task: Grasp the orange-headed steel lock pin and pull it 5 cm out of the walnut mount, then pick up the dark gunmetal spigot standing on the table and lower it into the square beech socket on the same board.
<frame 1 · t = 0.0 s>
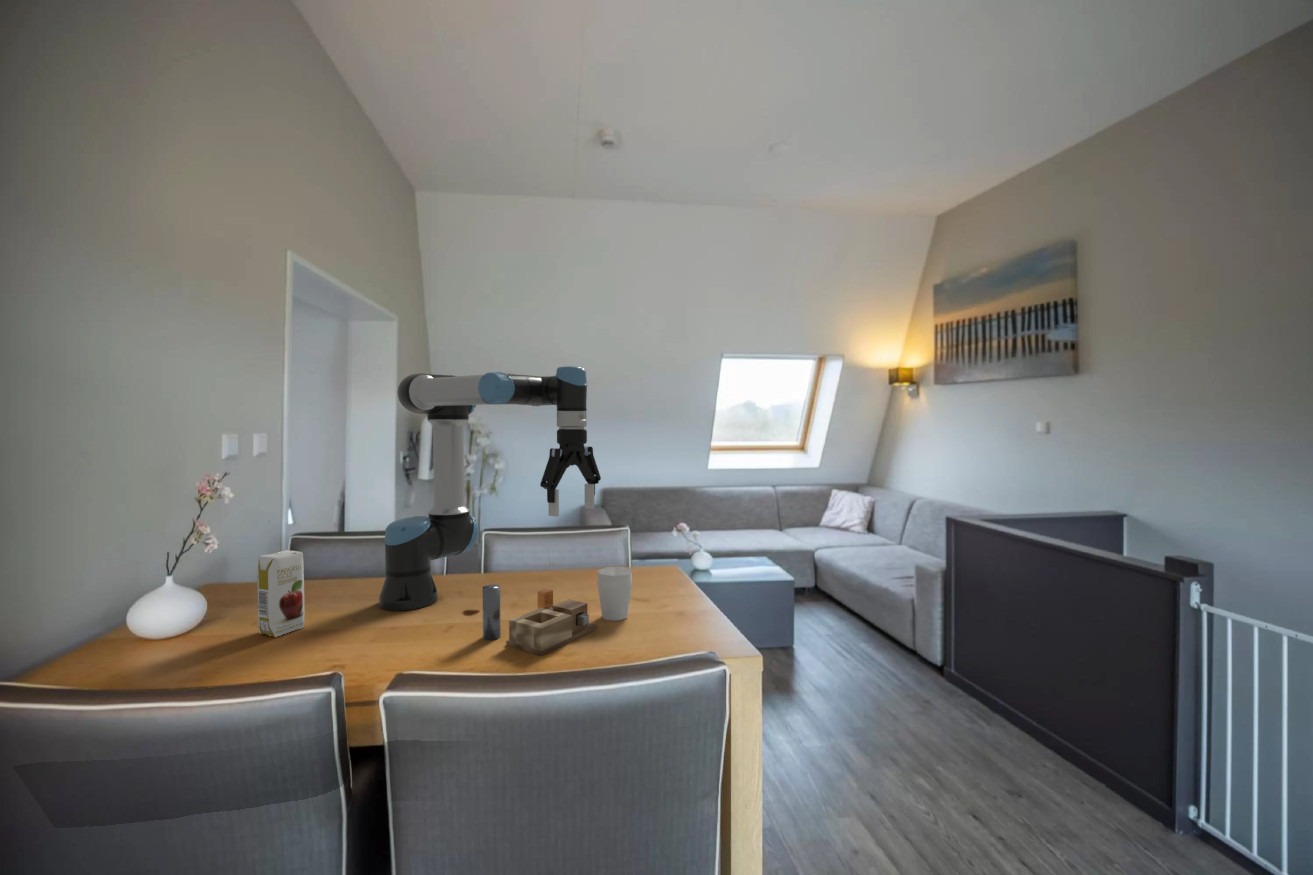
hand: (572, 512, 144), 28 cm above the table, fingers open, 13 cm apart
spigot: (491, 637, 134), on the table
juice carton: (282, 631, 138), on the table
pin: (563, 611, 139), point 4 cm above the table, slide at 0.0 cm
dock: (553, 636, 135), on the table
cup: (614, 617, 148), on the table
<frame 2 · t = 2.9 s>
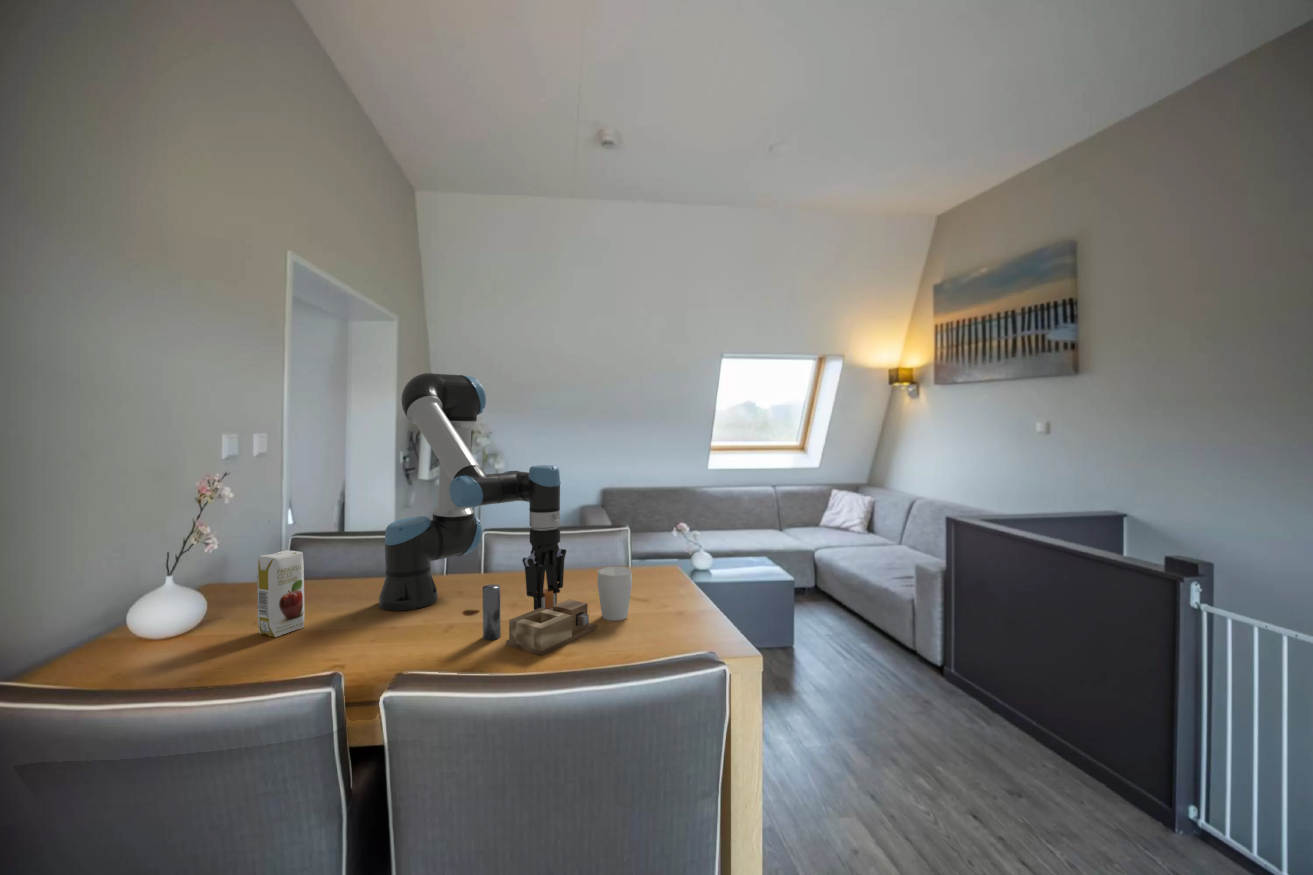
hand: (545, 620, 143), 1 cm above the table, fingers closed on pin, 3 cm apart
pin: (563, 611, 139), point 4 cm above the table, slide at 0.0 cm, touching gripper
everything else where it was.
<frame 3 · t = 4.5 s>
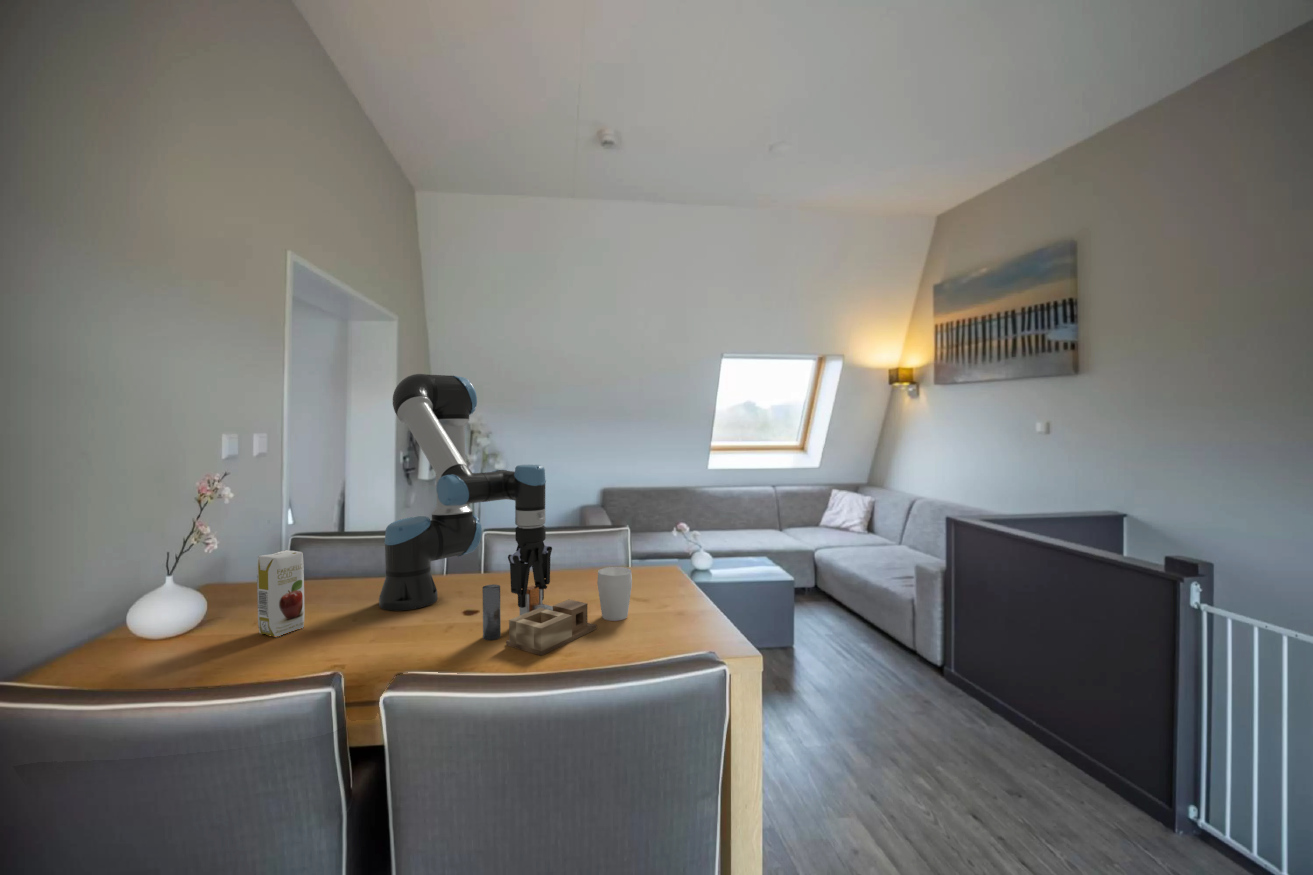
hand: (531, 616, 145), 1 cm above the table, fingers open, 4 cm apart
pin: (548, 607, 142), point 4 cm above the table, slide at 4.9 cm
everything else where it was.
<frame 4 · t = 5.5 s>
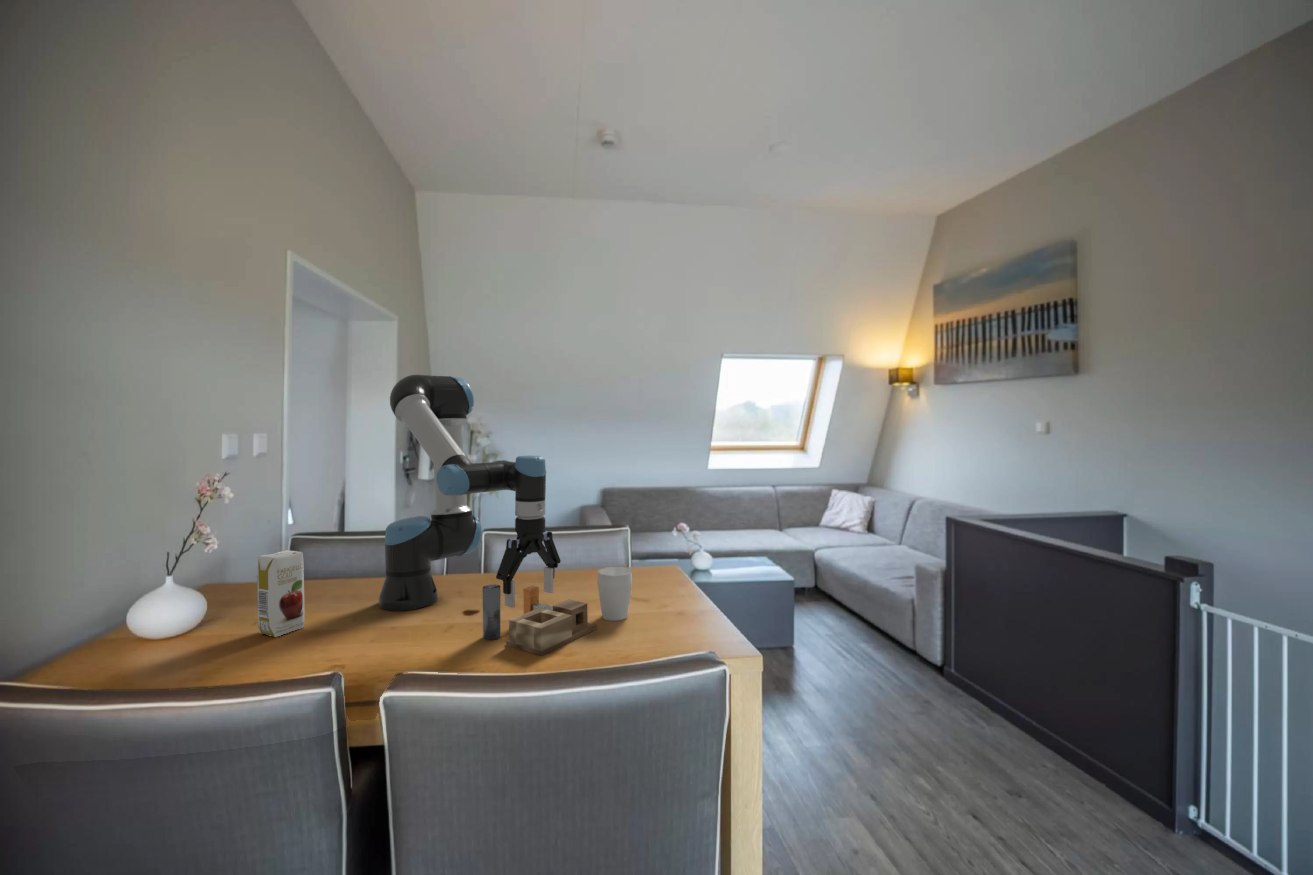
hand: (529, 598, 146), 5 cm above the table, fingers open, 13 cm apart
nothing on the table moved.
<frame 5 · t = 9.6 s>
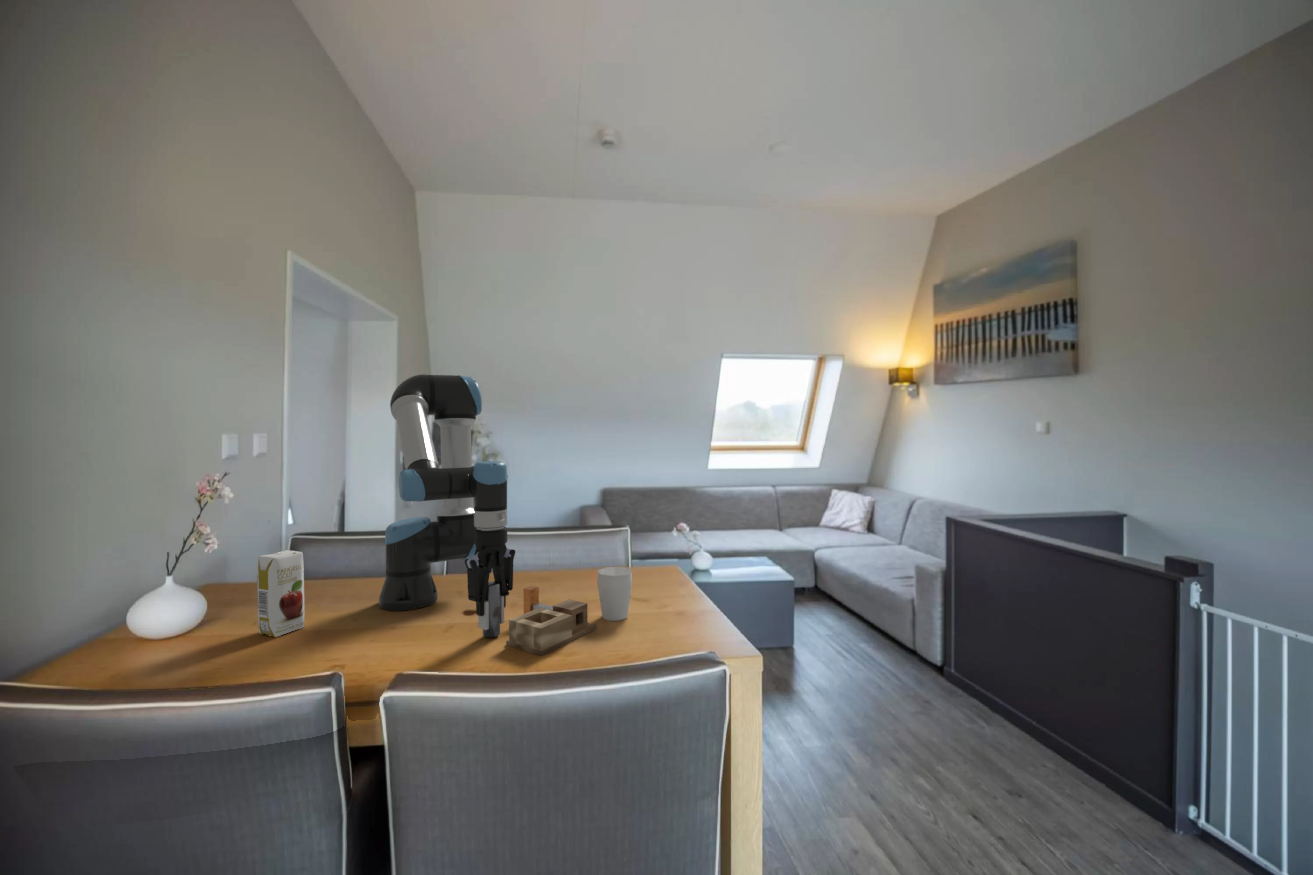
hand: (491, 624, 135), 3 cm above the table, fingers closed on spigot, 4 cm apart
spigot: (491, 633, 135), point 1 cm above the table, touching gripper
everything else where it was.
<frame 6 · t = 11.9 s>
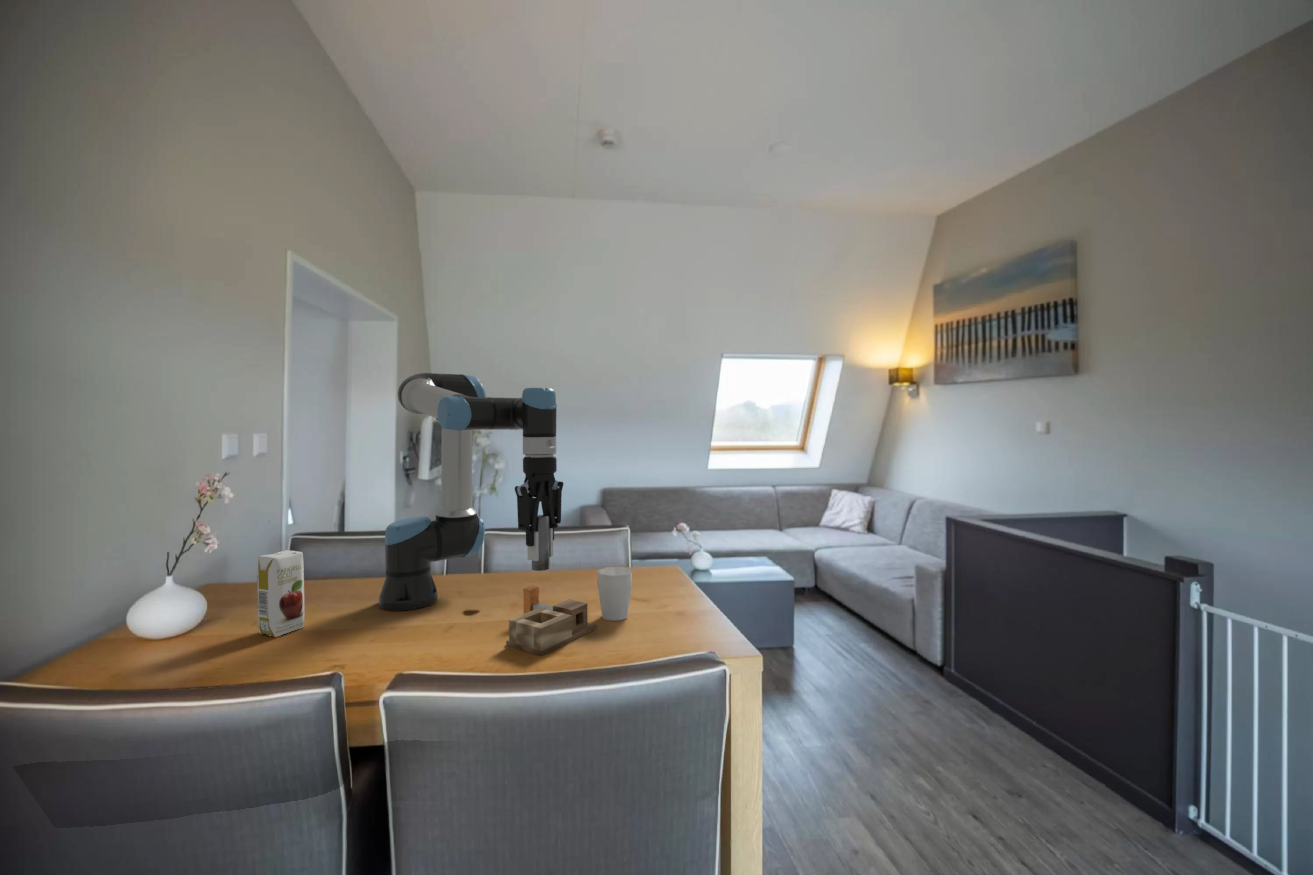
hand: (540, 557, 130), 20 cm above the table, fingers closed on spigot, 4 cm apart
spigot: (540, 568, 130), point 17 cm above the table, touching gripper
everything else where it was.
when the fingers open (7 cm above the table, at t = 14.9 s): spigot drops 3 cm, resting on dock.
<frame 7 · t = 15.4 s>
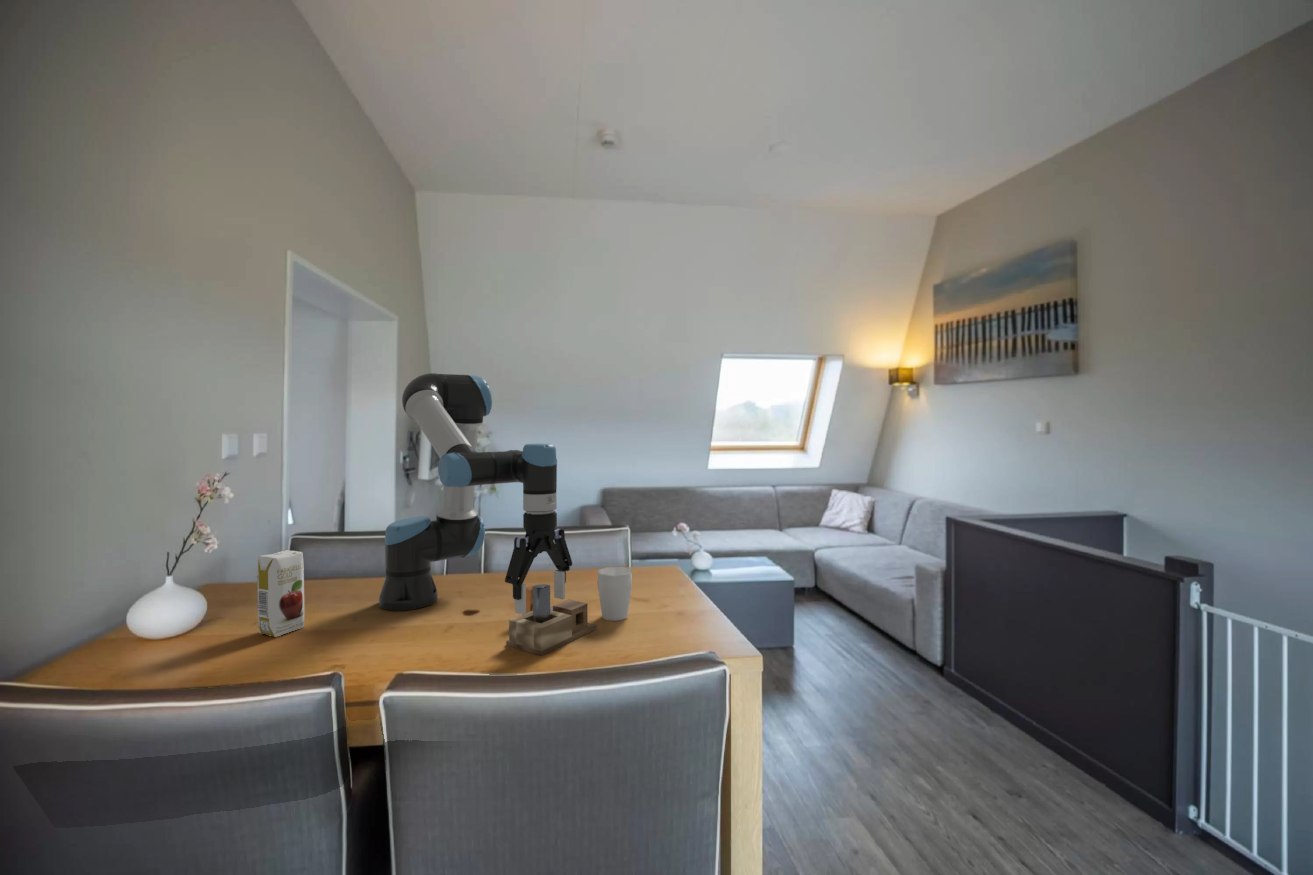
hand: (540, 605, 130), 9 cm above the table, fingers open, 12 cm apart
spigot: (541, 638, 131), point 1 cm above the table, touching dock
everything else where it was.
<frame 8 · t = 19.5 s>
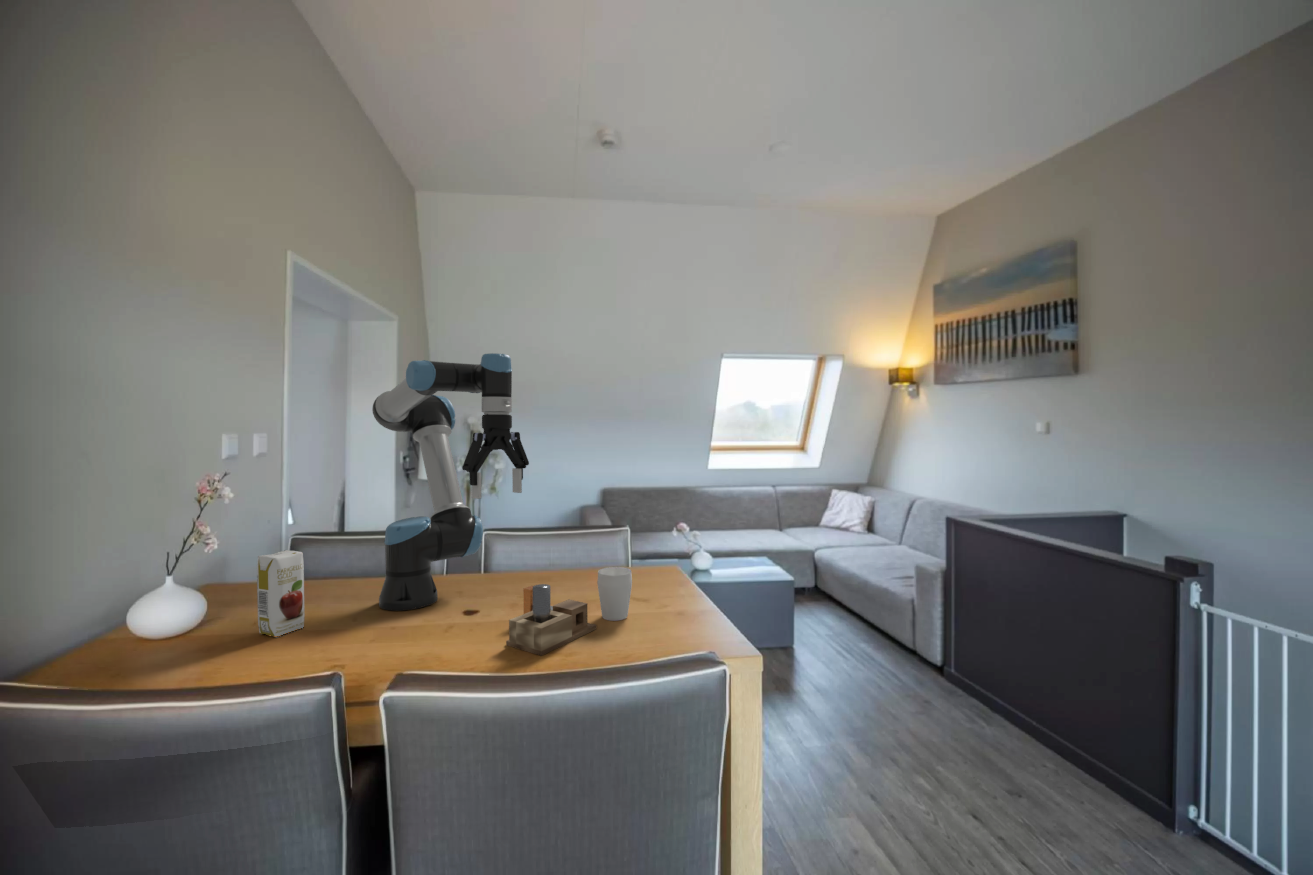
hand: (497, 495, 148), 32 cm above the table, fingers open, 13 cm apart
nothing on the table moved.
at the end: spigot 0.2 cm from the target spot on the dock, point 1.1 cm above the dock's base; spigot tilted 2°; pin slide at 4.9 cm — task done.
